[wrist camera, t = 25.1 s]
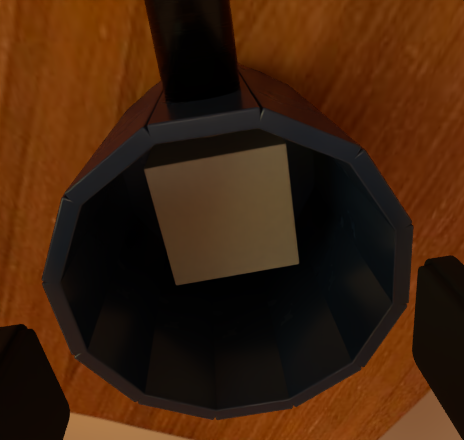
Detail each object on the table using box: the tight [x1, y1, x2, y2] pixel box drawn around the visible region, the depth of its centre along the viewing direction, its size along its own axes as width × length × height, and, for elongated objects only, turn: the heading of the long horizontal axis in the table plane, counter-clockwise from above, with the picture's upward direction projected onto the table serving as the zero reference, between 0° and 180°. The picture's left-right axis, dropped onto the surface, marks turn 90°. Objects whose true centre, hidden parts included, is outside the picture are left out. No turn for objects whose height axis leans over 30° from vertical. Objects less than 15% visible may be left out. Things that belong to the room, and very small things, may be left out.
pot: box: [42, 0, 413, 420], centre depth 14 cm, size 10×10×18 cm
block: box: [144, 129, 299, 285], centre depth 18 cm, size 5×5×5 cm
